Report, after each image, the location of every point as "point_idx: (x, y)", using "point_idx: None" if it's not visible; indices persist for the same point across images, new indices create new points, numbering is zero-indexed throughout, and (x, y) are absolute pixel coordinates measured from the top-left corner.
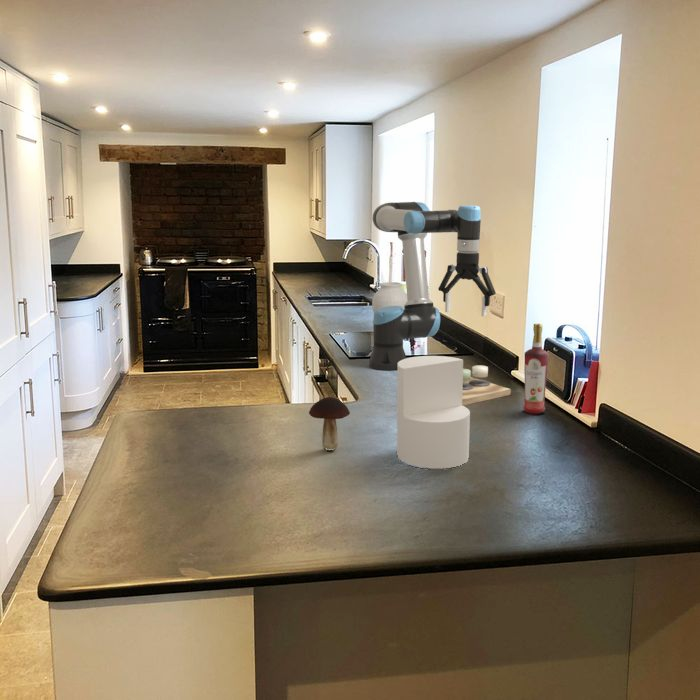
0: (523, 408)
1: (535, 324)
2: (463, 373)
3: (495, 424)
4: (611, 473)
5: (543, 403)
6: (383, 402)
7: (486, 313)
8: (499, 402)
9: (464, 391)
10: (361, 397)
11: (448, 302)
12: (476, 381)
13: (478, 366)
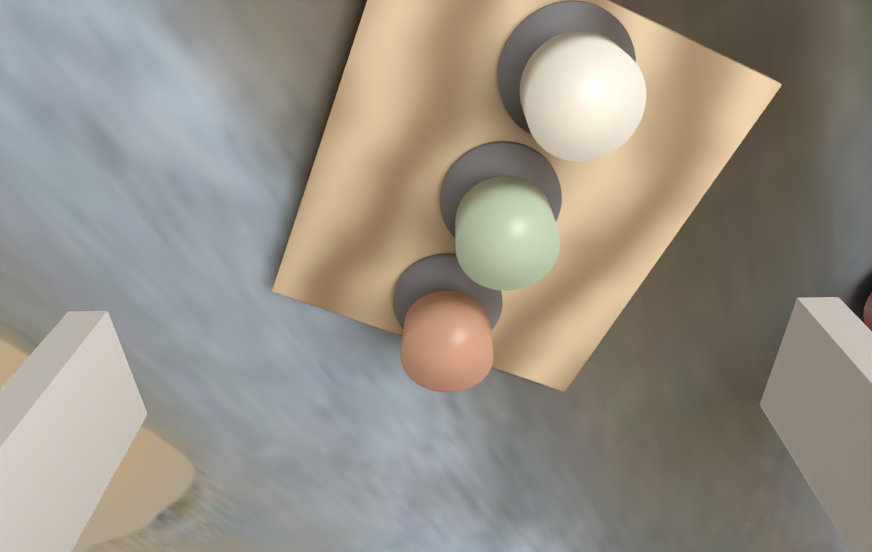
0: (867, 326)
1: None
2: (530, 281)
3: (757, 465)
4: None
5: None
6: (280, 447)
7: (850, 322)
8: (726, 235)
9: None
10: (167, 437)
11: (49, 525)
12: None
13: (566, 89)
